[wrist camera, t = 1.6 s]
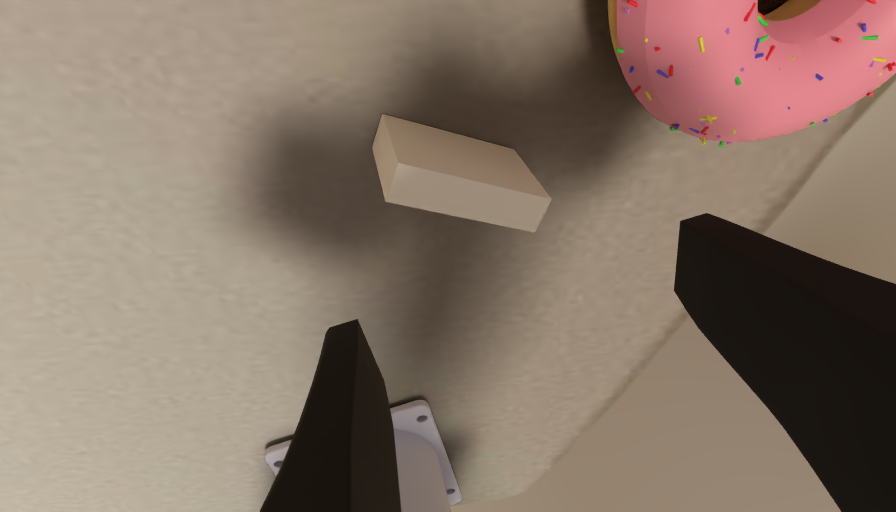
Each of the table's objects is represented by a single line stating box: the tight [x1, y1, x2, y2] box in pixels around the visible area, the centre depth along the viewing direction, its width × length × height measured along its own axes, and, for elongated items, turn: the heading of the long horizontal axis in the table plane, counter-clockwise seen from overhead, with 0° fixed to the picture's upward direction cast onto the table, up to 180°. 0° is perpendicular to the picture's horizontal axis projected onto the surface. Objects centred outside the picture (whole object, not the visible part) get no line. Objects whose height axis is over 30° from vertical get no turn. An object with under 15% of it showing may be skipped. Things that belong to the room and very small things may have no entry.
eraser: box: [372, 114, 552, 233], centre depth 17 cm, size 1×5×4 cm, turn 70°
